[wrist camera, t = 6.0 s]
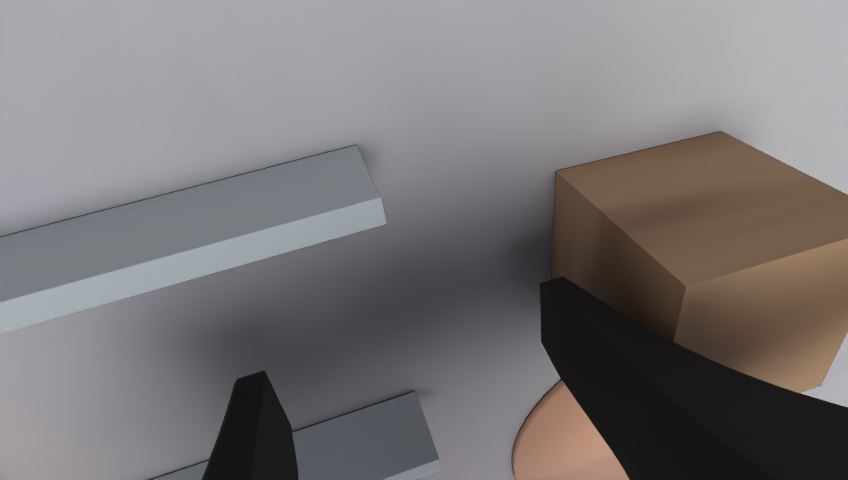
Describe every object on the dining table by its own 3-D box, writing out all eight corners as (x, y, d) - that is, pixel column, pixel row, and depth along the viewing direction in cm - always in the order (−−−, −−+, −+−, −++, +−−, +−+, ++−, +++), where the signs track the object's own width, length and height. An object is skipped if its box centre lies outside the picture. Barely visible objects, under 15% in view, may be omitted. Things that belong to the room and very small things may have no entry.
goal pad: (713, 451, 25) (717, 457, 25) (517, 527, 24) (520, 534, 24) (760, 294, 19) (766, 299, 19) (505, 381, 18) (508, 388, 18)
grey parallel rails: (418, 403, 17) (442, 470, 15) (95, 512, 16) (75, 603, 14) (356, 144, 12) (380, 197, 10) (-141, 273, 10) (-230, 365, 8)
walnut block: (688, 272, 18) (821, 385, 14) (549, 312, 17) (648, 446, 13) (720, 130, 15) (901, 222, 11) (555, 171, 14) (686, 287, 10)
